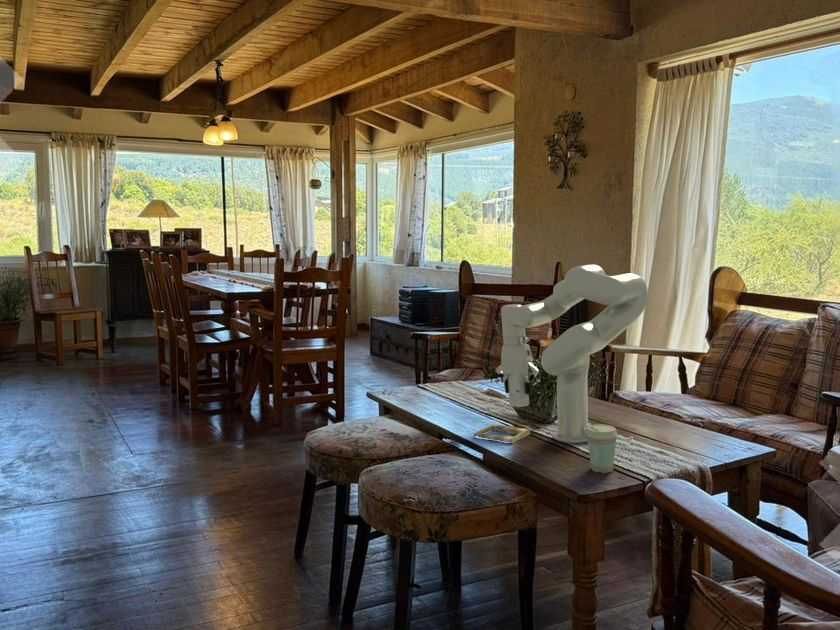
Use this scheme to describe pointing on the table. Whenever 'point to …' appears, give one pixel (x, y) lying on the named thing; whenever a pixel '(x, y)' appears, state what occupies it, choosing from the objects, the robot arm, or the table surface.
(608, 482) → the table surface
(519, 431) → the gold picture frame
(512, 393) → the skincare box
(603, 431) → the coffee cup
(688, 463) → the table surface
